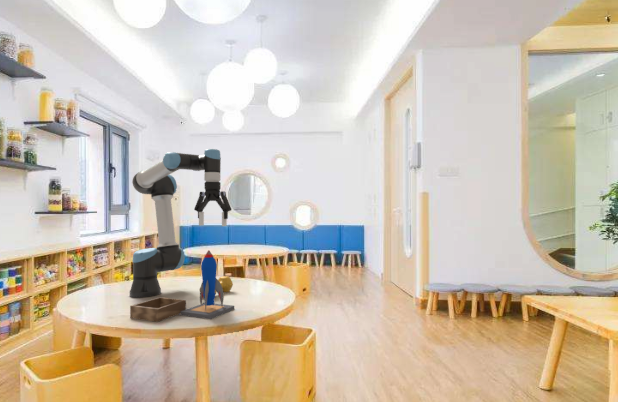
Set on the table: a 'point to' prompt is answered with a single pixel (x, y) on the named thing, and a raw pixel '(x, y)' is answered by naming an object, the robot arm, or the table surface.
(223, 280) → the dumbbell
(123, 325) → the table surface
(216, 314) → the pad
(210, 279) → the toy rocket
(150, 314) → the wooden tray
